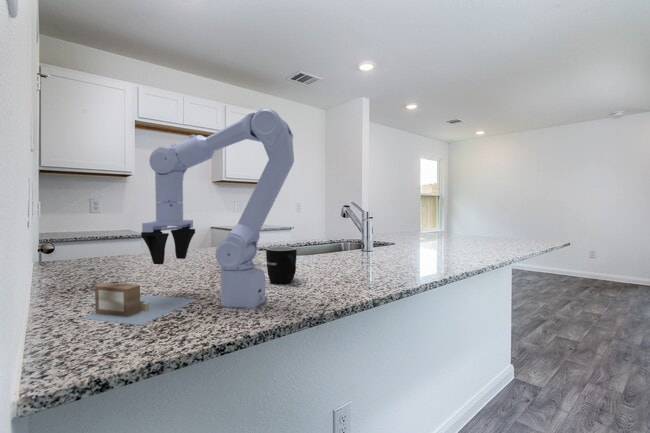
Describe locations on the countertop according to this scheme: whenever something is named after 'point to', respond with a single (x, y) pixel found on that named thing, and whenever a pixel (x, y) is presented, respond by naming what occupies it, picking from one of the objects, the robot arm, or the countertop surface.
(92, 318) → the blue flat mat
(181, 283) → the countertop surface
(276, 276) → the mug
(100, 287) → the brown square box
